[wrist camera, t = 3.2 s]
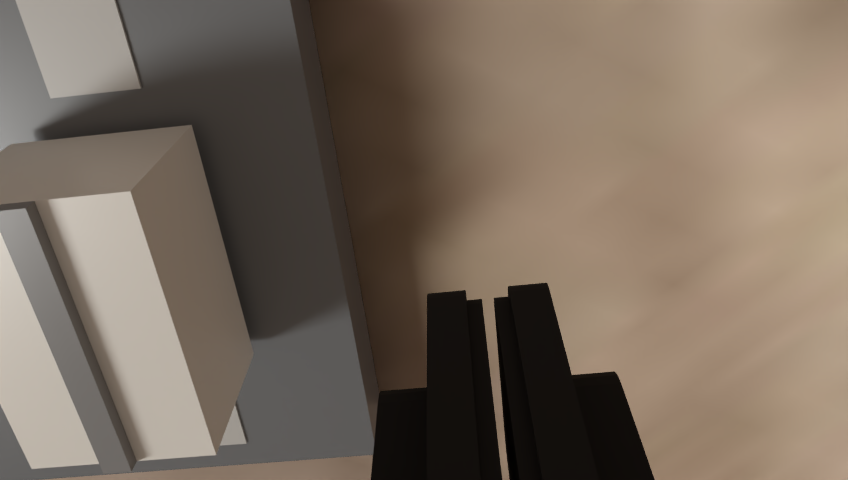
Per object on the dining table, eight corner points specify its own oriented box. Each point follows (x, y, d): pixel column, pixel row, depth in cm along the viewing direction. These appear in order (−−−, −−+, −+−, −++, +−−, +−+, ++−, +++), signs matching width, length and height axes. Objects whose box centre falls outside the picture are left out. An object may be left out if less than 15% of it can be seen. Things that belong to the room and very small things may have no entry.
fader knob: (191, 124, 16) (123, 198, 12) (253, 354, 18) (212, 465, 15) (11, 144, 16) (-104, 221, 12) (99, 366, 19) (24, 479, 15)
